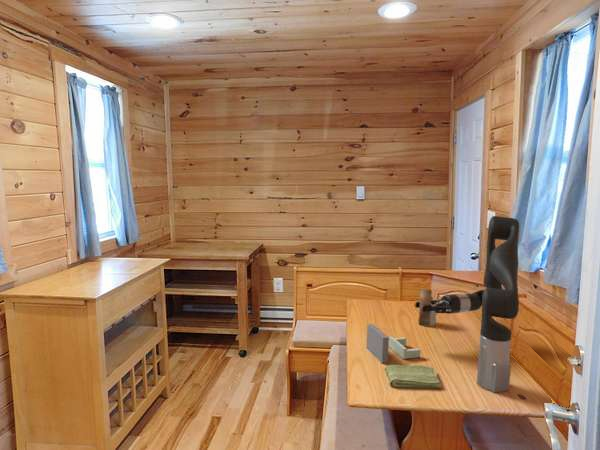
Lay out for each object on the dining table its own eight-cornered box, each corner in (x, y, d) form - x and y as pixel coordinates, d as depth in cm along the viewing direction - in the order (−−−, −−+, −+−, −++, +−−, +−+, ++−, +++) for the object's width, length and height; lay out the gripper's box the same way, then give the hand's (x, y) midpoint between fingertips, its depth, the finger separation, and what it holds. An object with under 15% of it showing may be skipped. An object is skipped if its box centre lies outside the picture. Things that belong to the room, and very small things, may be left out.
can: (436, 327, 190) (438, 302, 189) (419, 326, 192) (421, 301, 190) (434, 322, 198) (436, 297, 196) (418, 320, 199) (419, 296, 198)
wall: (387, 362, 155) (388, 337, 153) (381, 363, 154) (383, 337, 153) (371, 347, 168) (372, 323, 167) (366, 348, 167) (367, 324, 166)
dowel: (432, 325, 165) (433, 291, 163) (422, 326, 163) (424, 292, 162) (425, 321, 169) (427, 288, 167) (416, 322, 168) (418, 289, 166)
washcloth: (443, 391, 136) (444, 381, 136) (389, 389, 137) (390, 380, 136) (432, 371, 149) (432, 363, 149) (383, 370, 150) (383, 362, 149)
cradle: (420, 357, 159) (420, 347, 159) (403, 358, 157) (403, 349, 157) (404, 344, 171) (405, 335, 170) (388, 346, 169) (389, 336, 168)
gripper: (445, 289, 175) (409, 292, 171) (467, 299, 162) (429, 303, 157) (444, 306, 176) (409, 310, 172) (466, 318, 163) (428, 322, 158)
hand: (419, 306), depth 164 cm, fingers closed on dowel, 4 cm apart
